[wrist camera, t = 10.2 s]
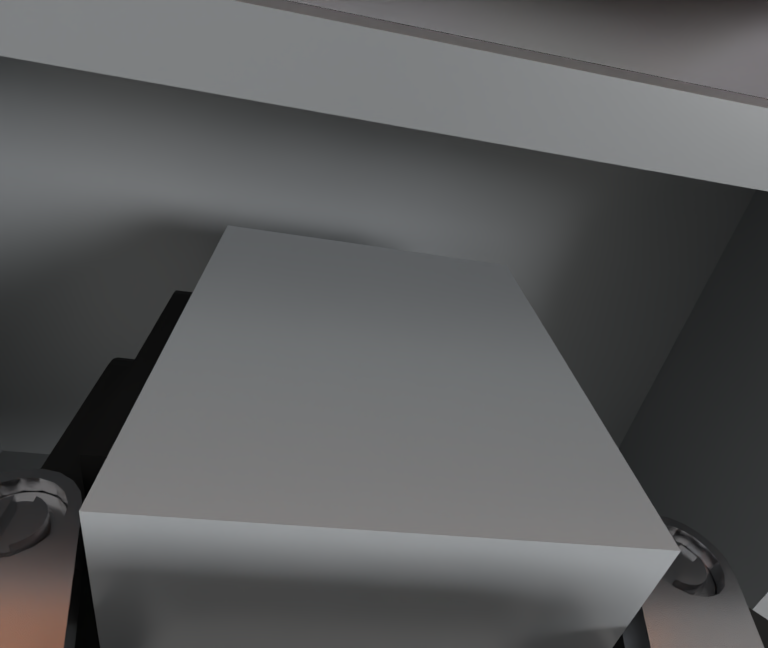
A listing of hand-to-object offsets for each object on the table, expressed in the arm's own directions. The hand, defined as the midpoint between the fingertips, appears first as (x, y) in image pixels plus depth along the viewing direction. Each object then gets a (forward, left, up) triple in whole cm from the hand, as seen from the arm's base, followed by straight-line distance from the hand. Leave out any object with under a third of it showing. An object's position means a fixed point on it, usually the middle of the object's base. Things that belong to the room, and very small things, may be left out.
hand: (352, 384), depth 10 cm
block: (0, 0, -1) cm, 1 cm away
